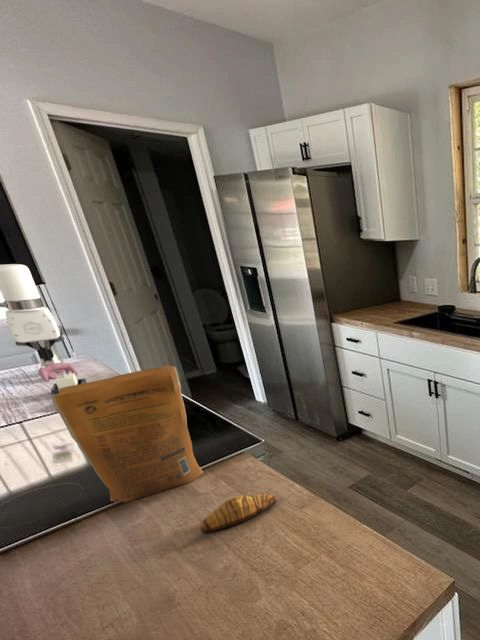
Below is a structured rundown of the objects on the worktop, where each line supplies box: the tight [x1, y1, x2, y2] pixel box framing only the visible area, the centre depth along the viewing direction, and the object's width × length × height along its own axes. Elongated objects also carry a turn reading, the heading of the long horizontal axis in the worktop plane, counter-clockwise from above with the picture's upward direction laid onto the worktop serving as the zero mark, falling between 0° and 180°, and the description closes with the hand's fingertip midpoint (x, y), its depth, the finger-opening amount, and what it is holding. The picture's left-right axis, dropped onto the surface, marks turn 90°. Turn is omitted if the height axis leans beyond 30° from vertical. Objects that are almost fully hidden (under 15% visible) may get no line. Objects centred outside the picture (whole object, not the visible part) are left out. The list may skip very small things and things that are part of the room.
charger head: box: [54, 372, 79, 389], centre depth 147 cm, size 4×6×6 cm
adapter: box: [50, 378, 88, 395], centre depth 148 cm, size 8×10×3 cm
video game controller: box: [38, 361, 79, 382], centre depth 162 cm, size 10×5×7 cm, turn 149°
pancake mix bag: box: [50, 365, 204, 503], centre depth 88 cm, size 7×19×28 cm, turn 131°
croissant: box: [199, 493, 277, 534], centre depth 83 cm, size 14×7×5 cm, turn 135°
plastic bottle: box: [35, 340, 64, 374], centre depth 165 cm, size 6×7×20 cm
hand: (48, 360), depth 136 cm, fingers closed
